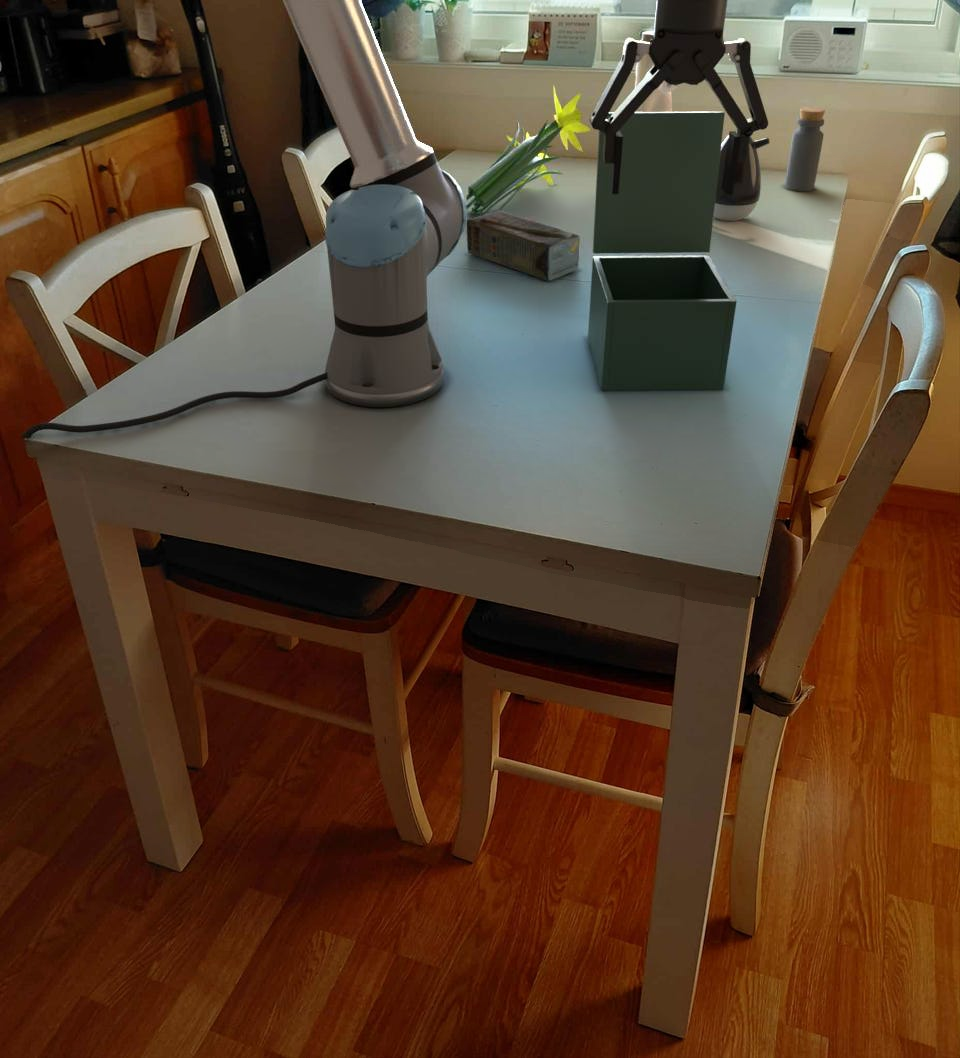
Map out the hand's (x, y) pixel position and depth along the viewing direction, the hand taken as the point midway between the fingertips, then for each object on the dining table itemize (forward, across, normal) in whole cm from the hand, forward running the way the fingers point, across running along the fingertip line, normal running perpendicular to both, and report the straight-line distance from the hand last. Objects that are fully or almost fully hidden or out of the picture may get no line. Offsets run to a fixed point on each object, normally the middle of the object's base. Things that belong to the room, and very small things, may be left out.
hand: (670, 191), depth 117 cm
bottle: (+23, -44, -85) cm, 98 cm away
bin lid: (+2, 0, -10) cm, 10 cm away
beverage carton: (+23, +15, -41) cm, 50 cm away
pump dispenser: (+23, -25, -65) cm, 74 cm away
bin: (+23, 0, -1) cm, 23 cm away
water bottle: (+23, -13, -89) cm, 93 cm away
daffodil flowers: (+23, +13, -78) cm, 83 cm away
